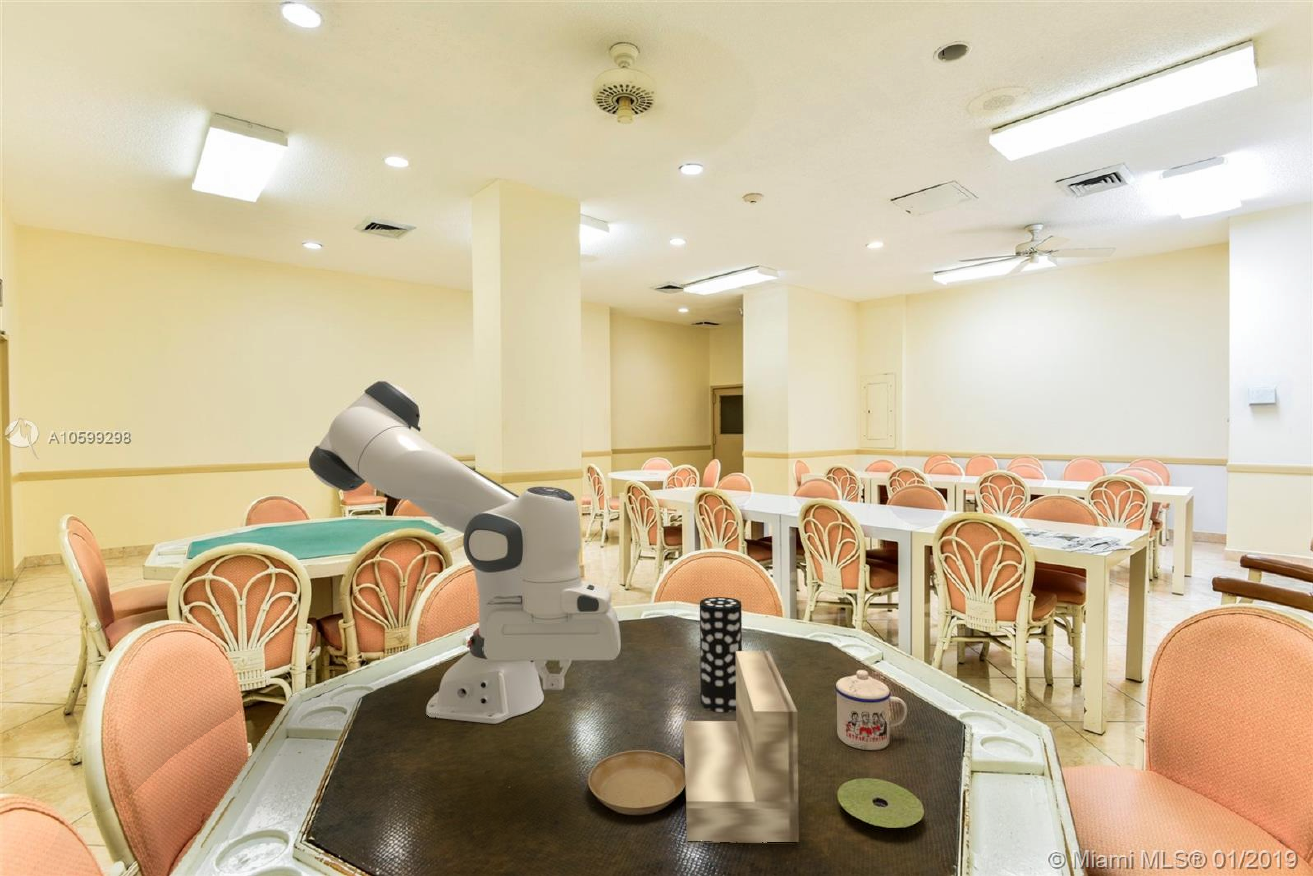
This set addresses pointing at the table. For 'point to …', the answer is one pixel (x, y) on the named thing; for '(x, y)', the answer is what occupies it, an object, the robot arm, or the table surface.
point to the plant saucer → (637, 781)
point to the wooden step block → (745, 762)
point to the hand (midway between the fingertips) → (553, 688)
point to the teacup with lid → (865, 711)
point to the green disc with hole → (880, 803)
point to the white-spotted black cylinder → (719, 652)
